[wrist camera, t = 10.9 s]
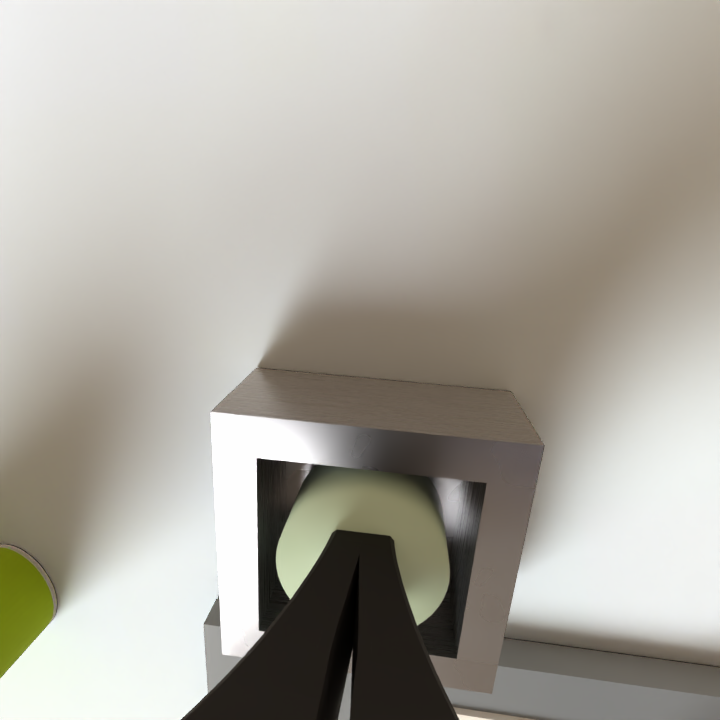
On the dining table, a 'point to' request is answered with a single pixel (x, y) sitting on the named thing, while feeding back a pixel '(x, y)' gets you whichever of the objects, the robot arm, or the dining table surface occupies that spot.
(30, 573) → the vape
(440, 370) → the dining table surface
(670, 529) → the dining table surface
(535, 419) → the dining table surface
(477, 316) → the dining table surface
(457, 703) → the drawing board
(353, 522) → the button
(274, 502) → the button housing
